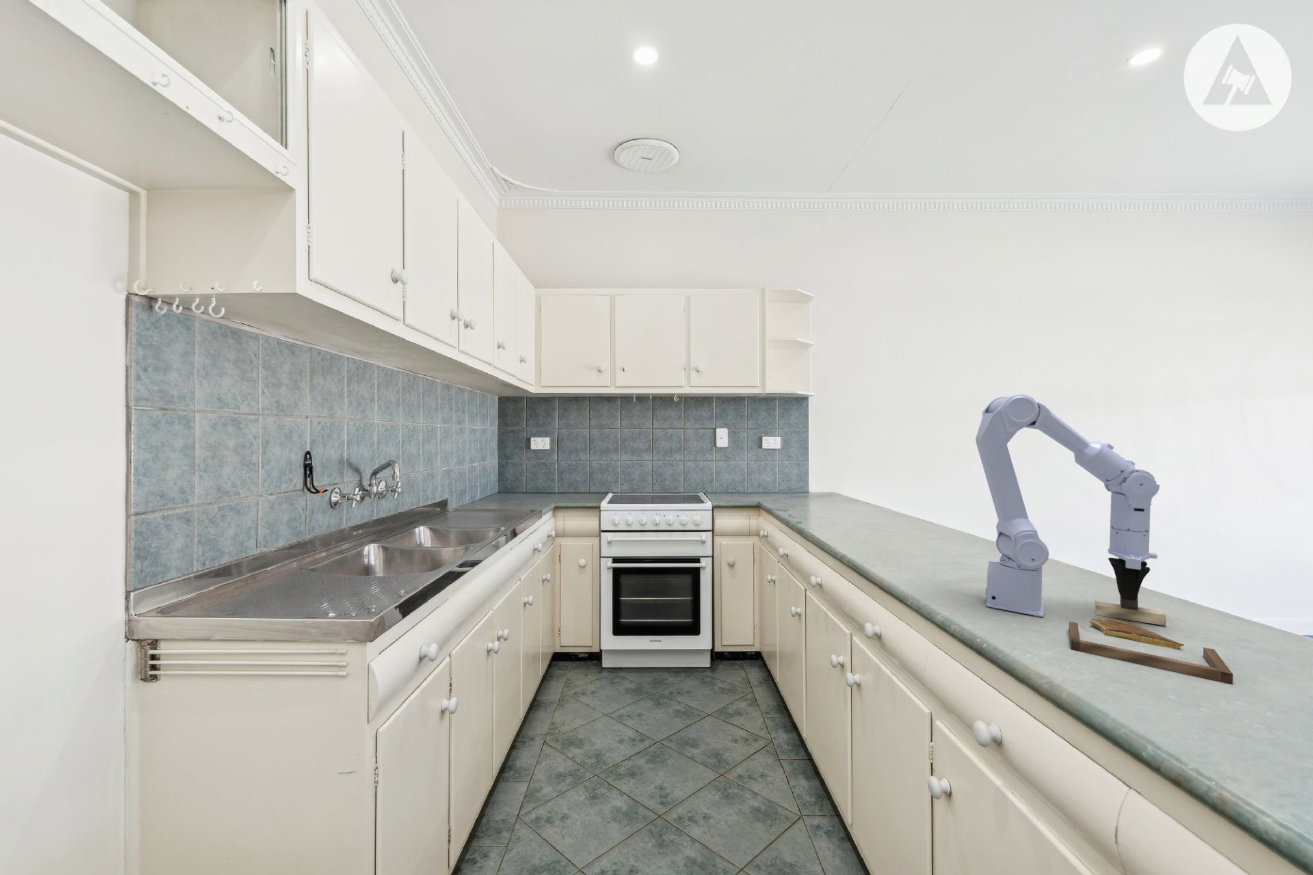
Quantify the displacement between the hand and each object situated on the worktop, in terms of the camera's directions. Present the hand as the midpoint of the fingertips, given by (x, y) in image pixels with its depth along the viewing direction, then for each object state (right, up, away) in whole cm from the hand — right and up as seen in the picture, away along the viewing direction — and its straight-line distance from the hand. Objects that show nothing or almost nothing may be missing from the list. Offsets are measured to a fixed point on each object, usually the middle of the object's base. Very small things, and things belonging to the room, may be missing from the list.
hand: (1127, 597), depth 100 cm
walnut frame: (-12, -4, -16) cm, 20 cm away
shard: (-6, -5, -8) cm, 11 cm away
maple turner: (0, -4, 0) cm, 4 cm away
